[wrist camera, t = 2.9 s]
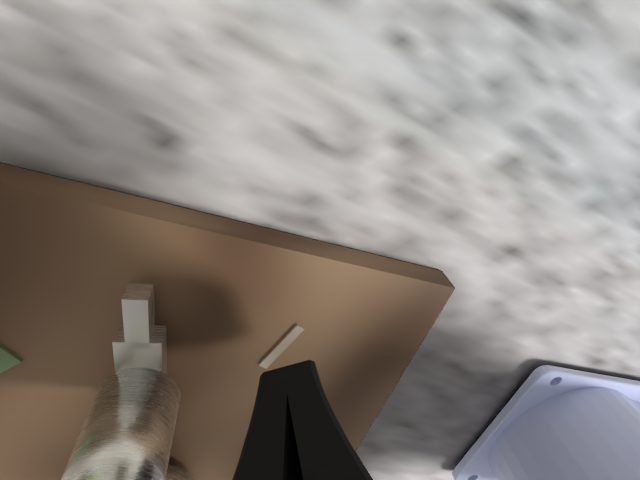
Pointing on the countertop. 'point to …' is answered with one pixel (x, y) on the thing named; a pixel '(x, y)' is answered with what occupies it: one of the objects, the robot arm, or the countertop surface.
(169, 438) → the needle
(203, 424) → the dial board
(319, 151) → the countertop surface
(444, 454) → the countertop surface
